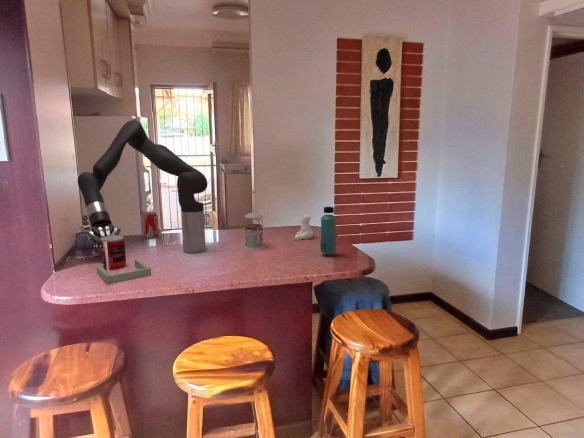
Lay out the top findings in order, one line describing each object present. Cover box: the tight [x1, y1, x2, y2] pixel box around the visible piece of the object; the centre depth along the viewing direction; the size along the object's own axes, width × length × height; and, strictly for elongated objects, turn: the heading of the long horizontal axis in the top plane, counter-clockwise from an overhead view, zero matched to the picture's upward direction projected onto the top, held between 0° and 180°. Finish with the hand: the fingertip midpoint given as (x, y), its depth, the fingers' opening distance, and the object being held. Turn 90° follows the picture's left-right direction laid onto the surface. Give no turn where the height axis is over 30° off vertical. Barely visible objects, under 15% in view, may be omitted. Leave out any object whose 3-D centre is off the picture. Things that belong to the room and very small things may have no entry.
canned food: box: [100, 234, 127, 270], centre depth 154 cm, size 8×8×11 cm
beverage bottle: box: [320, 206, 337, 255], centre depth 166 cm, size 6×7×20 cm
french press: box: [242, 190, 266, 251], centre depth 179 cm, size 10×12×25 cm
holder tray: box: [96, 241, 152, 285], centre depth 144 cm, size 14×14×14 cm
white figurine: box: [294, 213, 314, 241], centre depth 195 cm, size 10×9×12 cm
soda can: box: [141, 211, 160, 240], centre depth 196 cm, size 7×7×12 cm
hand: (109, 252), depth 158 cm, fingers closed
